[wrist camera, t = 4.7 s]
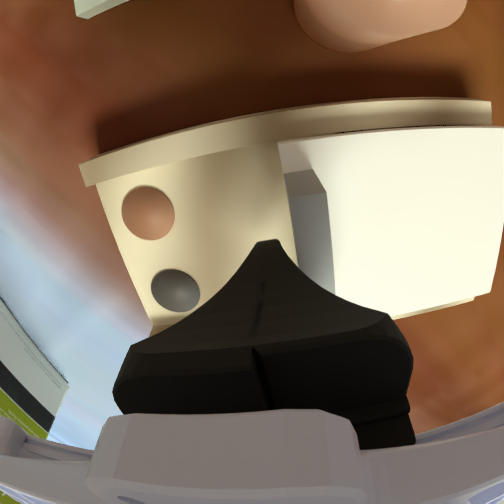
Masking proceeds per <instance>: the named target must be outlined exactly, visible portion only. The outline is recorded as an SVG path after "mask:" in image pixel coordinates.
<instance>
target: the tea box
mask: <svg viewBox="0 0 504 504" xmlns="http://www.w3.org/2000/svg"><path fill="white" fill-rule="evenodd" d="M68 389H69V386H68V383H67V382H66V381H65V379H64V378H63V377H62V376H61V375H60V374H59V373H58V371H57V370H56V369H55V368H54V367H53V366H52V365H51V363H50V362H49V361H48V360H47V359H46V357H45V356H44V355H43V354H42V353H41V351H40V350H39V349H38V348H37V347H36V345H35V344H34V343H33V342H32V340H31V339H30V338H29V336H28V335H27V334H26V333H25V331H24V330H23V329H22V327H21V326H20V325H19V323H18V322H17V321H16V319H15V318H14V316H13V315H12V314H11V312H10V311H9V310H8V308H7V307H6V305H5V304H4V303H3V301H2V300H1V299H0V416H3V417H6V418H9V419H11V420H13V421H14V422H16V423H17V424H18V425H20V426H21V427H22V428H23V429H24V430H25V432H26V433H27V434H28V435H31V436H34V437H38V438H41V439H45V440H46V439H47V437H48V434H49V432H50V429H51V426H52V424H53V421H54V420H55V417H56V415H57V413H58V411H59V409H60V407H61V405H62V402H63V400H64V397H65V395H66V393H67V391H68ZM0 504H22V503H20V502H18V501H16V500H14V499H13V498H11V497H10V496H8V495H7V494H5V493H4V492H2V491H1V490H0Z"/></svg>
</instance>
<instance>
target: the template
mask: <svg viewBox="0 0 504 504" xmlns="http://www.w3.org/2000/svg"><path fill="white" fill-rule="evenodd" d="M424 125H492V112H491V102H490V101H484V100H478V99H472V98H460V97H399V98H377V99H362V100H350V101H339V102H329V103H320V104H312V105H304V106H297V107H290V108H284V109H277V110H271V111H265V112H260V113H254V114H249V115H243V116H238V117H233V118H229V119H224V120H219V121H215V122H210V123H206V124H202V125H197V126H193V127H189V128H185V129H181V130H178V131H174V132H170V133H166V134H163V135H159V136H156V137H152V138H149V139H145V140H142V141H139V142H135V143H132V144H129V145H126V146H123V147H120V148H117V149H114V150H111V151H108V152H105V153H102V154H99V155H97V156H95V157H93V158H91V159H89V160H87V161H85V162H83V163H81V164H79V167H80V170H81V174H82V177H83V180H84V183H85V186H86V187H88V186H91V185H94V184H96V187H97V190H98V193H99V196H100V199H101V202H102V204H103V207H104V210H105V213H106V216H107V218H108V221H109V224H110V227H111V229H112V232H113V234H114V237H115V240H116V242H117V245H118V247H119V250H120V252H121V255H122V257H123V260H124V262H125V265H126V267H127V269H128V272H129V274H130V276H131V279H132V281H133V283H134V286H135V288H136V290H137V292H138V295H139V297H140V299H141V301H142V304H143V306H144V308H145V310H146V312H147V314H148V316H149V319H150V321H151V323H152V325H153V328H152V331H151V333H150V336H149V337H151V336H153V335H155V334H157V333H159V332H161V331H163V330H165V329H167V328H169V327H170V326H172V325H174V324H176V323H177V322H179V321H180V320H182V319H184V318H185V317H187V316H188V315H190V314H191V313H192V312H194V311H195V310H196V309H198V308H199V307H200V306H202V305H203V304H204V303H206V302H207V301H208V300H209V299H210V298H212V297H213V296H214V295H215V294H216V293H217V292H218V291H219V290H220V289H221V288H222V287H223V286H224V285H225V284H226V283H227V282H228V281H229V280H230V278H231V277H232V276H233V275H234V274H235V272H236V271H237V270H238V268H239V267H240V266H241V264H242V263H243V262H244V260H245V259H246V257H247V256H248V254H249V253H250V251H251V250H252V248H253V247H254V245H255V244H256V243H257V242H258V241H265V240H271V239H278V240H279V241H280V243H281V246H282V247H283V249H284V251H285V252H286V253H287V255H288V256H289V257H290V258H291V260H292V261H293V262H294V263H295V264H296V265H297V266H298V264H297V257H296V250H295V244H294V237H293V231H292V224H291V218H290V212H289V206H288V199H287V193H286V188H285V182H284V176H283V170H282V164H281V159H280V153H279V148H278V142H282V141H289V140H295V139H302V138H309V137H316V136H324V135H332V134H335V133H337V132H346V131H356V130H366V129H377V128H390V127H405V126H424ZM474 297H475V296H474ZM474 297H471V298H467V299H463V300H459V301H456V302H452V303H448V304H444V305H440V306H435V307H431V308H427V309H423V310H418V311H414V312H409V313H405V314H400V315H395V316H390V317H391V318H392V320H394V319H399V318H403V317H408V316H412V315H417V314H421V313H425V312H430V311H434V310H438V309H442V308H446V307H450V306H454V305H458V304H461V303H465V302H469V301H473V300H474Z"/></svg>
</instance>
